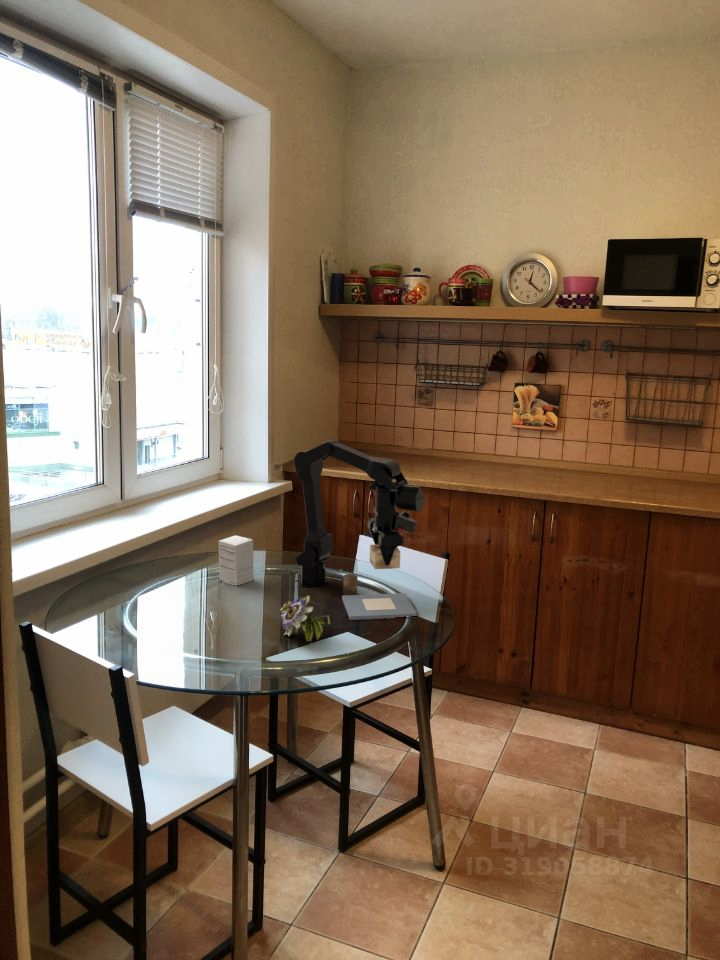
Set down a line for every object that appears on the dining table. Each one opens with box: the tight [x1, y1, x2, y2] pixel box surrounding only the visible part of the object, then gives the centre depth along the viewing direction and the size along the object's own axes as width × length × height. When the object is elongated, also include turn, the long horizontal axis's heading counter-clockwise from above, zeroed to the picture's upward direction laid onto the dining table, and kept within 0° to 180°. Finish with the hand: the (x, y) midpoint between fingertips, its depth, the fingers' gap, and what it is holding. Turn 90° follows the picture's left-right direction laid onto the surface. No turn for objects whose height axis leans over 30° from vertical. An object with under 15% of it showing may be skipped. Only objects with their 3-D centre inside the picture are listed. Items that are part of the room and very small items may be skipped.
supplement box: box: [218, 535, 255, 586], centre depth 227 cm, size 7×7×13 cm
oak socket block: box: [369, 544, 401, 570], centre depth 215 cm, size 7×7×5 cm
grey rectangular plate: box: [341, 592, 418, 621], centre depth 211 cm, size 18×15×1 cm
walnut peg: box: [342, 573, 359, 595], centre depth 221 cm, size 4×4×5 cm
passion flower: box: [280, 595, 331, 642], centre depth 192 cm, size 11×11×12 cm
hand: (384, 561), depth 215 cm, fingers closed on oak socket block, 7 cm apart
